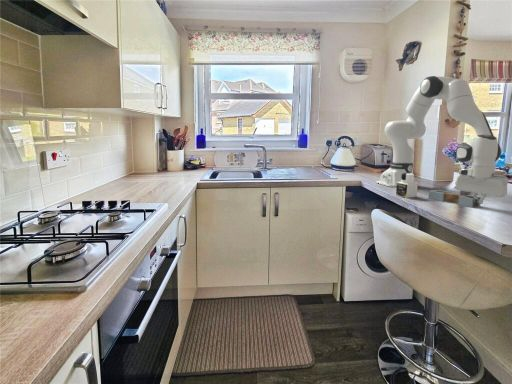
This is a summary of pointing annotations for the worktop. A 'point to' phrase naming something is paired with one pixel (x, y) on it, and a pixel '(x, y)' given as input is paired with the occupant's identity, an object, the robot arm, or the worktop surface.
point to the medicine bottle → (407, 186)
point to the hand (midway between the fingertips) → (478, 203)
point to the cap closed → (437, 195)
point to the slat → (454, 198)
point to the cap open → (467, 201)
